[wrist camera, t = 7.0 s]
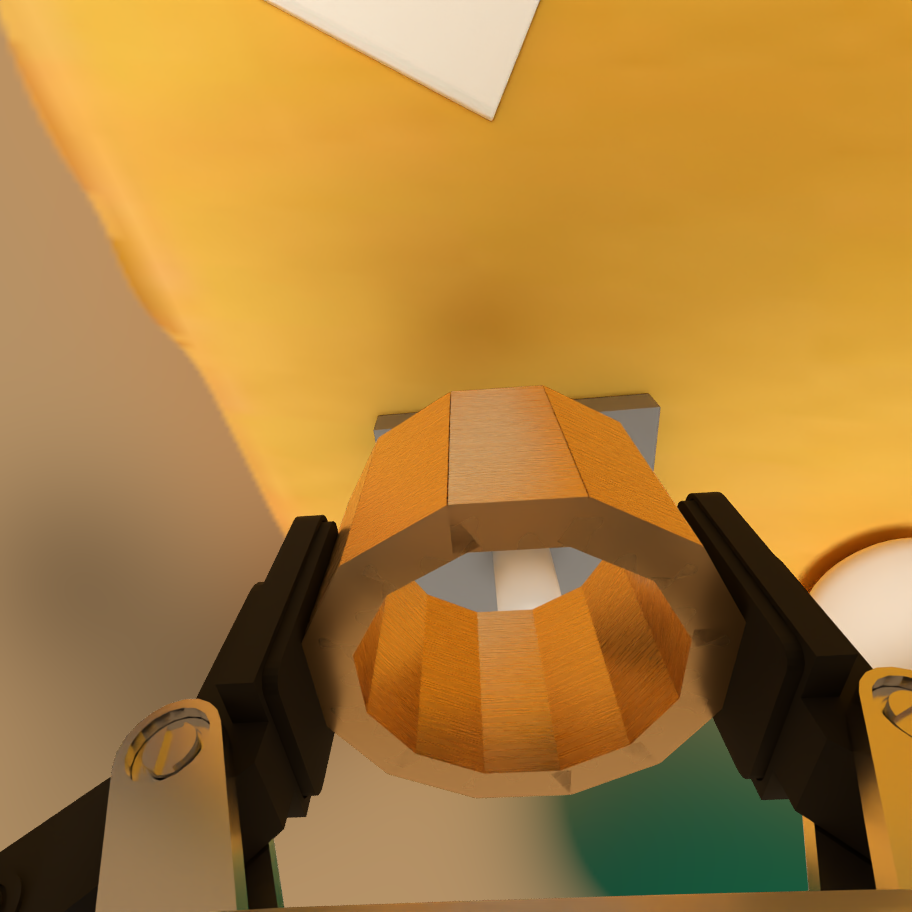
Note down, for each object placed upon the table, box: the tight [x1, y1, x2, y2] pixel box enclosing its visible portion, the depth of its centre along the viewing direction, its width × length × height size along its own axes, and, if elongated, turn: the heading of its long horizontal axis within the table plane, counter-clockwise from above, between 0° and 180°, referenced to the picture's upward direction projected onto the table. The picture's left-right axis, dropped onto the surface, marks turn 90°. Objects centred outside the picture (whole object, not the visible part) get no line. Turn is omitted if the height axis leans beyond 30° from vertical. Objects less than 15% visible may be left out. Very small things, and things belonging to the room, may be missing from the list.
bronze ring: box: [301, 385, 746, 798], centre depth 10 cm, size 7×7×4 cm
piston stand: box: [374, 394, 660, 612], centre depth 31 cm, size 18×16×8 cm
